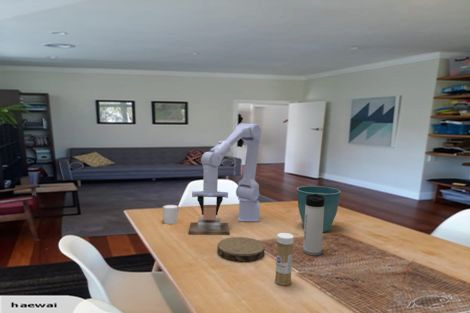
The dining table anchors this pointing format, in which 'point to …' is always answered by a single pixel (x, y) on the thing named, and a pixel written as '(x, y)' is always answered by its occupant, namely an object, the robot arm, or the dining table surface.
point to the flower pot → (329, 203)
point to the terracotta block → (209, 212)
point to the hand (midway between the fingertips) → (209, 214)
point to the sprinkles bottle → (284, 258)
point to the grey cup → (170, 214)
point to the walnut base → (200, 232)
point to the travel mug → (313, 224)
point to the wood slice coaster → (240, 249)
